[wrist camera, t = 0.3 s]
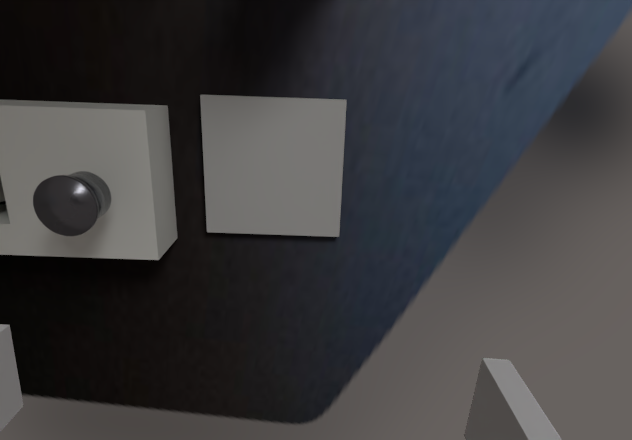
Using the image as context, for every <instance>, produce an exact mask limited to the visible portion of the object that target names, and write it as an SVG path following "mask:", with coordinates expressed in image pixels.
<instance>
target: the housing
mask: <svg viewBox="0 0 632 440" xmlns="http://www.w3.org/2000/svg"><path fill="white" fill-rule="evenodd" d="M79 171H87V172H91V173H93V174H95V175H97V176H99V177H100V178H101V179H102V180H103V181H104V182H105V183H106V184H107V186H108V187H109V190H110V192H111V205H110V208H109V209H108V211H107V212H106V213H105V214H104V215H102V216H101V217H99V218H98V219H97V221H96V223H95V225H94V226H93V227H92V228H91V229H89V230H88V231H86V232H85V233H83V234H81V235H77V236H64V235H60V234H57V233H55V232H53V231H51V230H49V229H48V228H47V227H46V226H45V225H43V223H42V222H41V221H40V220H39V218H38V217H37V215H36V213H35V210H34V206H33V195H34V192H35V190H36V188H37V186H38V185H39V184H40V183H41V182H42V181H44V180H45V179H47V178H50V177H53V176H56V175H70V174H72V173H75V172H79ZM0 176H1V181H2V186H3V191H4V196H5V201H6V205H2V204H0V255H26V256H55V257H84V258H112V259H141V260H159V259H160V258H161V257H162V256H163V254H164V253H165V252H166V251H167V250H168V249H169V247H170V246H171V245H172V244H173V243H174V242H175V240H176V239H177V226H176V213H175V199H174V185H173V171H172V158H171V144H170V130H169V117H168V106H166V105H138V104H110V103H82V102H55V101H27V100H0Z"/></svg>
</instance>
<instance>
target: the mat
mask: <svg viewBox="0 0 632 440" xmlns="http://www.w3.org/2000/svg"><path fill="white" fill-rule="evenodd" d="M200 101H201V122H202V142H203V162H204V183H205V203H206V223H207V232H213V233H242V234H270V235H299V236H327V237H339V229H340V211H341V193H342V174H343V156H344V138H345V119H346V101H347V100H342V99H314V98H286V97H258V96H230V95H200Z"/></svg>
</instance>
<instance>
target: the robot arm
mask: <svg viewBox="0 0 632 440" xmlns="http://www.w3.org/2000/svg"><path fill="white" fill-rule="evenodd" d="M22 407H23V400H22V395H21V389H20V383H19V377H18V371H17V366H16V360H15V354H14V348H13V343H12V337H11V331H10V325H3V324H0V432H1V430H2V429H3V428H4V427H5V426H6V425H7V423H9V421H10V420H11V419H12V418H13V417H14V416H15V415H16V414H17V413H18V411H19V410H20V409H21V408H22ZM464 436H465V439H466V440H561V438H560V436H559V435H558V433H557V432H556V430H555V429H554V427H553V426H552V424H551V423H550V421H549V419H548V418H547V416H546V415H545V413H544V412H543V410H542V409H541V408H540V406H539V404H538V403H537V401H536V400H535V398H534V397H533V395H532V394H531V392H530V390H529V389H528V388H527V386H526V384H525V383H524V381H523V380H522V378H521V377H520V376H519V374H518V372H517V371H516V369H515V368H514V366H513V365H512V363H511V362H510V360H503V359H488V358H482V362H481V366H480V370H479V374H478V379H477V383H476V387H475V392H474V396H473V400H472V404H471V409H470V413H469V417H468V421H467V426H466V430H465V434H464Z"/></svg>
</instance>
